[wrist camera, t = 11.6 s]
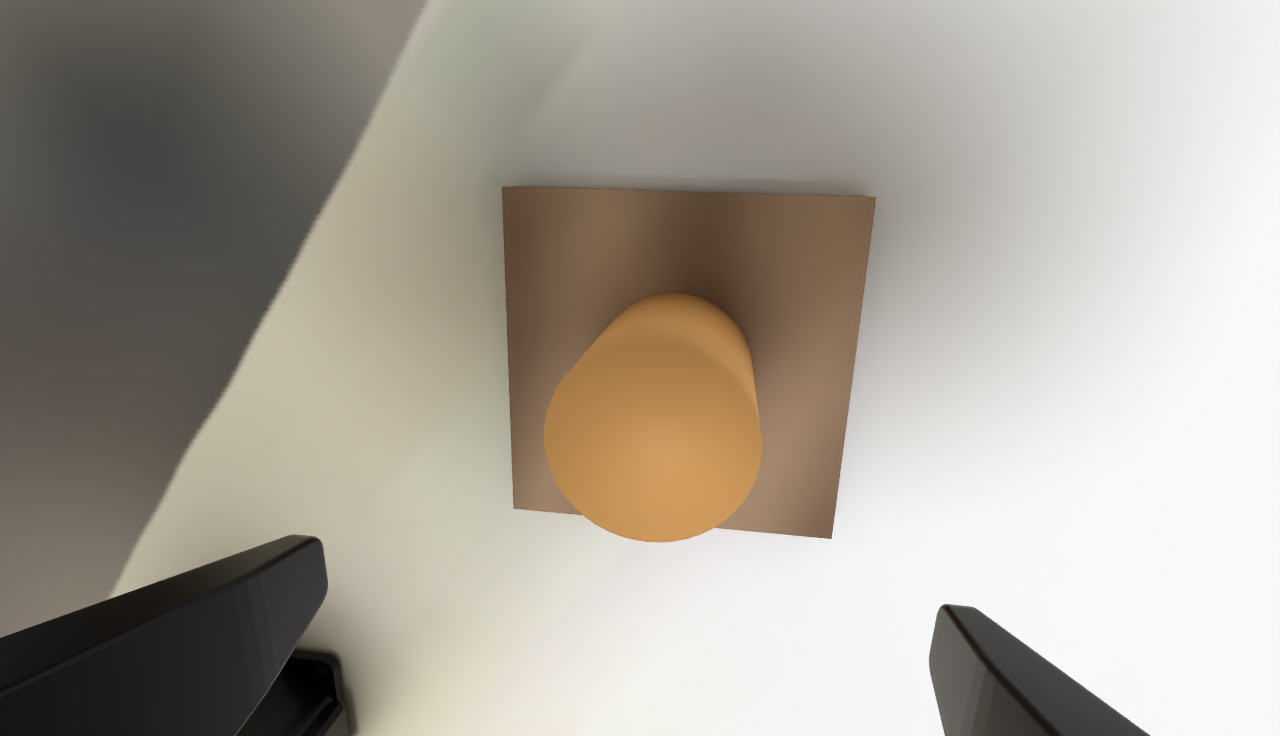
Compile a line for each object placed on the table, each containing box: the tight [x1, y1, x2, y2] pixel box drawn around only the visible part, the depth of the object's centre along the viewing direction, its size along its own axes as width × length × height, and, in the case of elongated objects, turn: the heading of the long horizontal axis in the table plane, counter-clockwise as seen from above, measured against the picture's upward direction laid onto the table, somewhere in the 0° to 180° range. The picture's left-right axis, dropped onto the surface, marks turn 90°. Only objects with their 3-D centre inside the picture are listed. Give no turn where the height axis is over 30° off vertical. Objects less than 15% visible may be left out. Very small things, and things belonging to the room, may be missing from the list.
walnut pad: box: [502, 187, 876, 539], centre depth 20 cm, size 11×11×1 cm
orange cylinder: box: [544, 293, 762, 542], centre depth 17 cm, size 5×5×6 cm
